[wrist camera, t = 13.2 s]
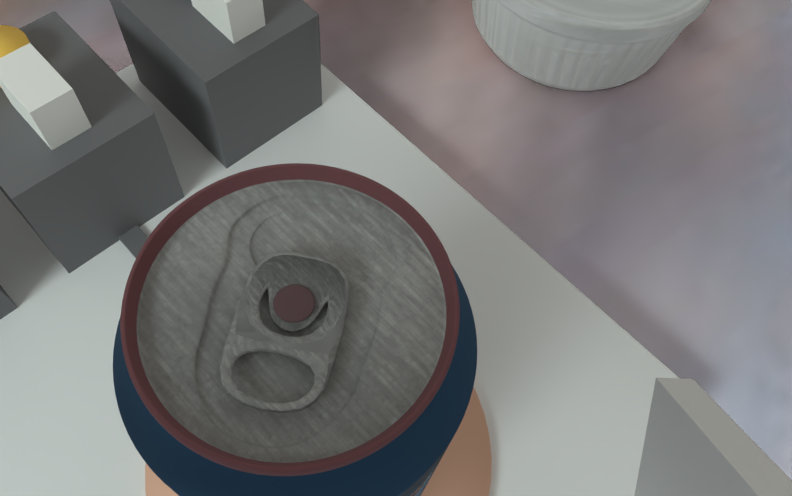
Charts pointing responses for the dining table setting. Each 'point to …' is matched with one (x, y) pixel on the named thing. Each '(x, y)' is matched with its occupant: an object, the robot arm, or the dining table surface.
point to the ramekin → (583, 37)
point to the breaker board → (224, 156)
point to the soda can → (294, 340)
